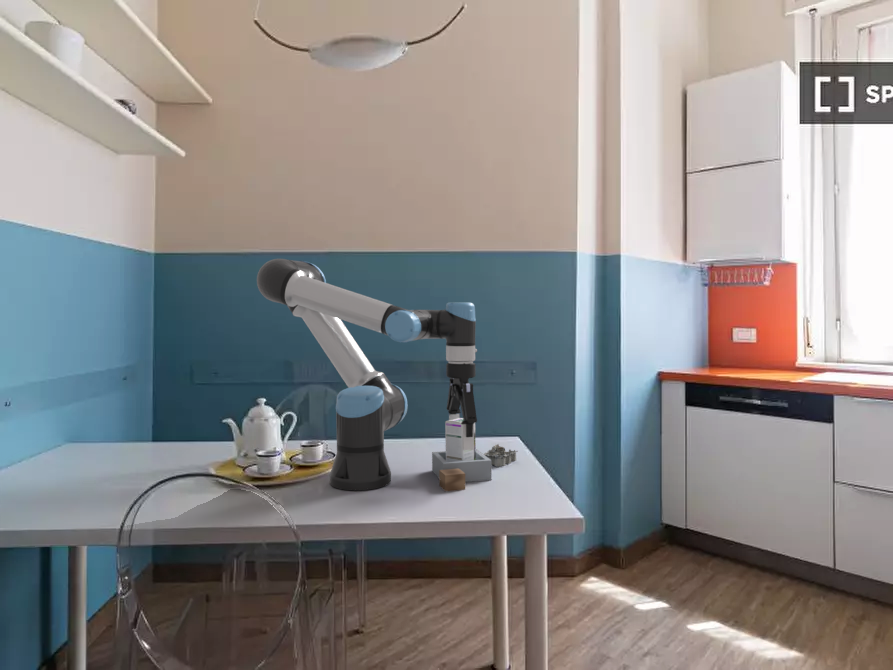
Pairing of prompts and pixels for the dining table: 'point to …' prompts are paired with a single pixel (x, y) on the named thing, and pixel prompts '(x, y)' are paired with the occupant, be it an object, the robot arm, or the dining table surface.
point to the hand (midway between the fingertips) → (461, 443)
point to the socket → (464, 466)
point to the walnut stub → (452, 479)
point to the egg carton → (500, 456)
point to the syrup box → (457, 442)
